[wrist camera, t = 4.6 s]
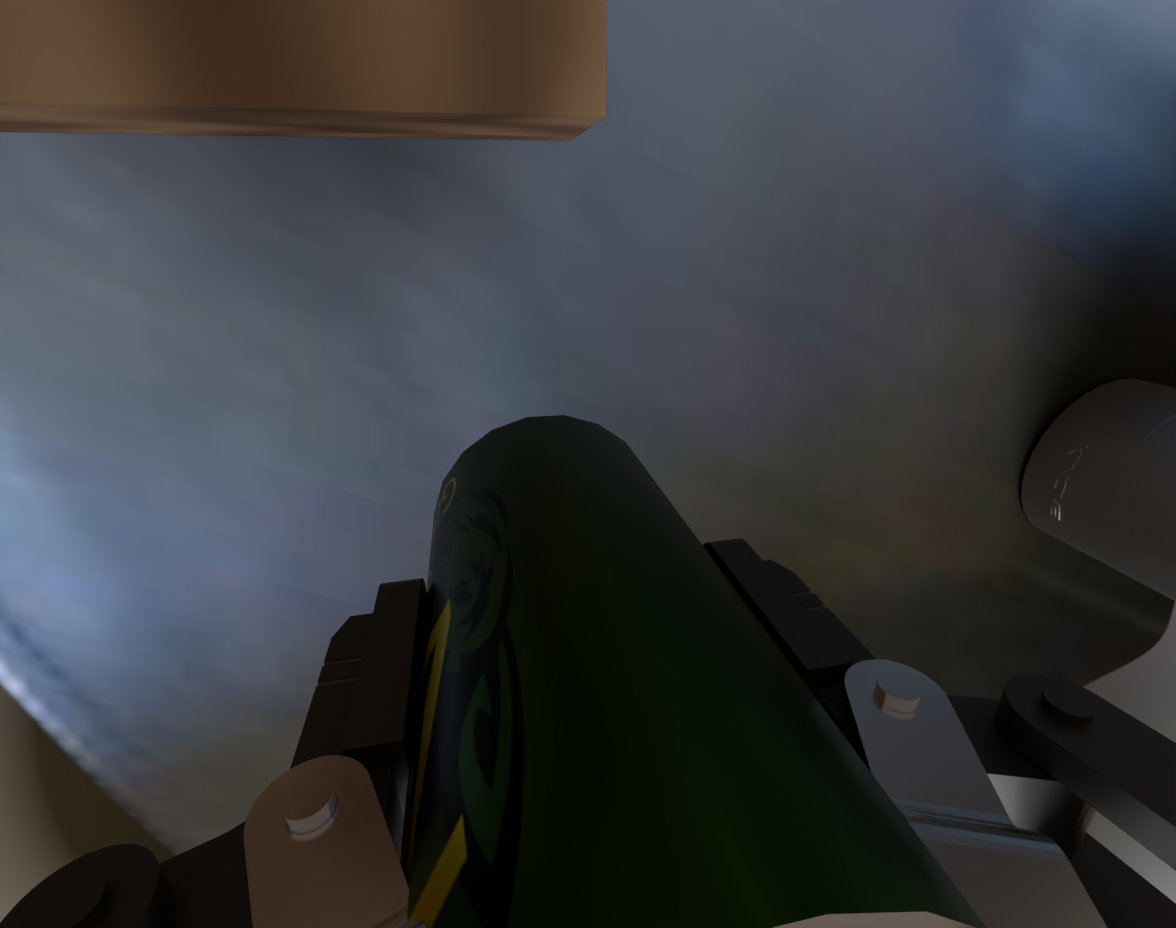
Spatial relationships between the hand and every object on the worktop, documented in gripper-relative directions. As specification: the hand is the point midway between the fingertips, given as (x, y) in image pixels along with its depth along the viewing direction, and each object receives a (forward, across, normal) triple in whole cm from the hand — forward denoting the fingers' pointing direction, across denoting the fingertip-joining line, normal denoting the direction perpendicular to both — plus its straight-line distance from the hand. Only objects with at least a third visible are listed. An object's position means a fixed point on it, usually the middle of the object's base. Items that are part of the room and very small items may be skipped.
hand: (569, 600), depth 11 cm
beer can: (+4, 0, 0) cm, 4 cm away
